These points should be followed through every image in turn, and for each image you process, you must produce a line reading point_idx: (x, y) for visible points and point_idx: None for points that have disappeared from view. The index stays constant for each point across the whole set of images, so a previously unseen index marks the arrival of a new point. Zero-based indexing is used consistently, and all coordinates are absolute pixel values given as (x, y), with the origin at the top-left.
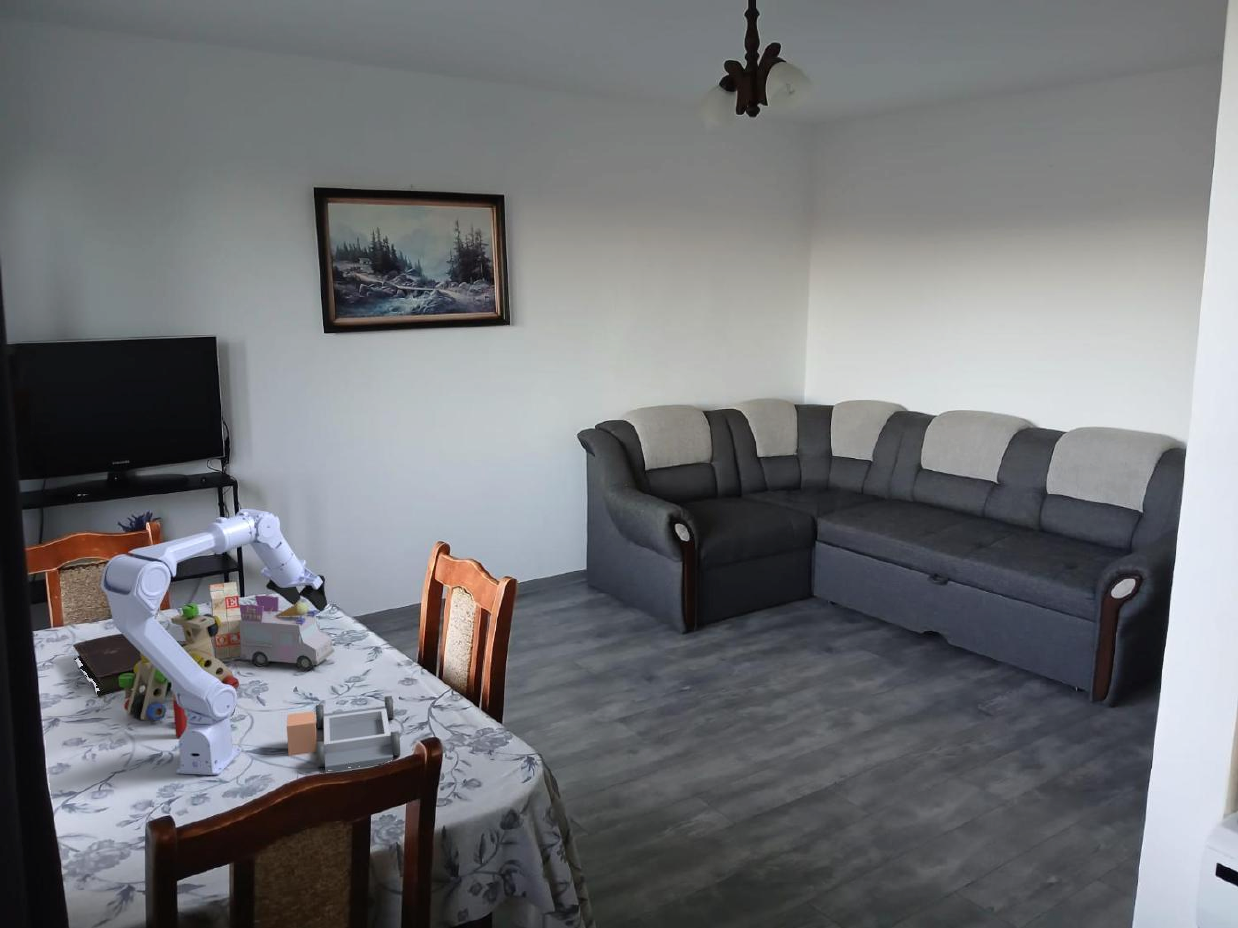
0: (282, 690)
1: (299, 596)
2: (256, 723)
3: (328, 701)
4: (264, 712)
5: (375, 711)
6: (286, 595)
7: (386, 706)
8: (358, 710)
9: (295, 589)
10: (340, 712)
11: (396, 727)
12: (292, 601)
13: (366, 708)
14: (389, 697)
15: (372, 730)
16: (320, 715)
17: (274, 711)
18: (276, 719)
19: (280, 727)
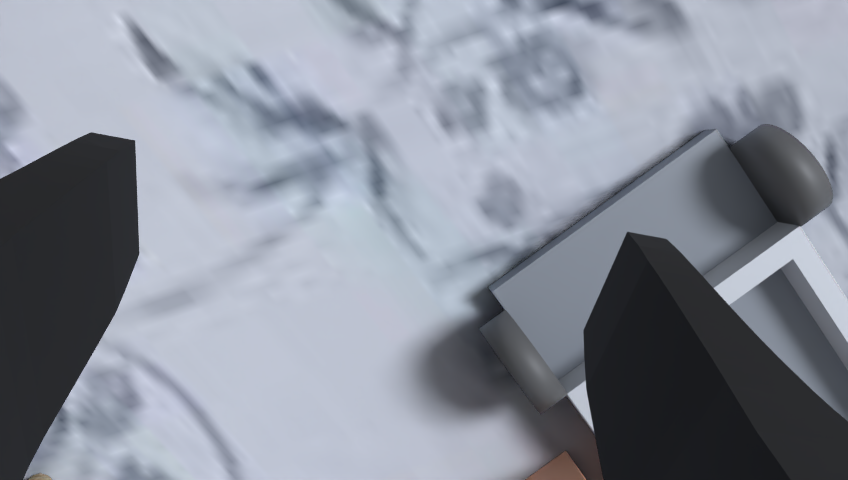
0: (94, 85)
1: (120, 162)
2: (224, 418)
3: (395, 122)
4: (181, 318)
5: (769, 271)
6: (37, 422)
7: (804, 222)
8: (624, 209)
9: (48, 236)
10: (556, 254)
11: (826, 249)
12: (114, 299)
13: (648, 179)
14: (813, 179)
15: (784, 356)
16: (555, 402)
17: (219, 294)
18: (283, 357)
19: (351, 413)
